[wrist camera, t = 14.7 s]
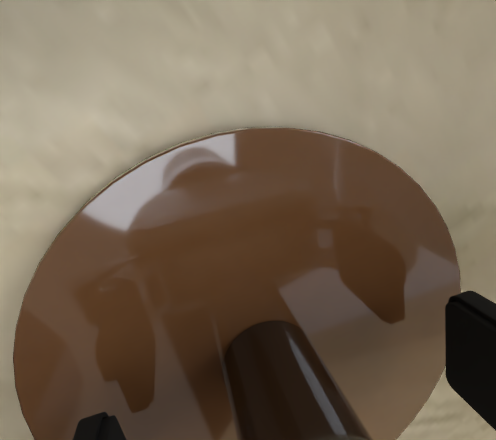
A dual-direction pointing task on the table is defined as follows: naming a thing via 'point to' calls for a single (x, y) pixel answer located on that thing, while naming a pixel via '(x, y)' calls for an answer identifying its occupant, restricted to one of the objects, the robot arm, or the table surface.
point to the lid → (242, 296)
